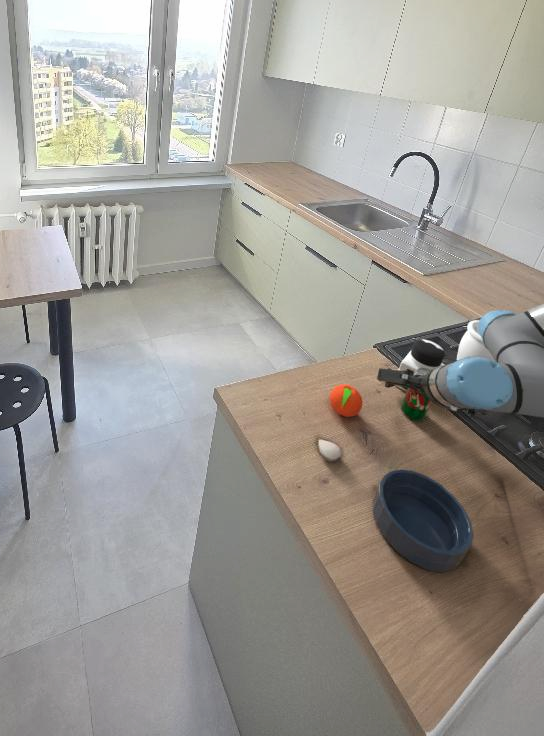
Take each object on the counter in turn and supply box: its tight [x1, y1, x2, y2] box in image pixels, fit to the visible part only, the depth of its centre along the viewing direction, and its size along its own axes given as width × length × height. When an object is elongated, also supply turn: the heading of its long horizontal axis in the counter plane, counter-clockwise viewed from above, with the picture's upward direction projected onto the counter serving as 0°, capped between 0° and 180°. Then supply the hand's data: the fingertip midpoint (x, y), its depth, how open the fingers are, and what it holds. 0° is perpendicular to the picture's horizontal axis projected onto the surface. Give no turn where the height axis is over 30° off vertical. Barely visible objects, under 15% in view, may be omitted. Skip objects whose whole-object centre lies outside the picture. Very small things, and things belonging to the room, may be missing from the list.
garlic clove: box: [318, 439, 342, 463], centre depth 87 cm, size 4×5×2 cm
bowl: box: [372, 469, 475, 573], centre depth 74 cm, size 14×14×6 cm
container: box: [394, 339, 446, 393], centre depth 104 cm, size 8×8×13 cm
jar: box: [456, 319, 497, 363], centre depth 107 cm, size 11×10×15 cm
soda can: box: [400, 368, 433, 421], centre depth 96 cm, size 5×5×12 cm
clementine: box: [329, 383, 363, 418], centre depth 96 cm, size 8×7×7 cm
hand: (420, 392), depth 95 cm, fingers open, 13 cm apart
